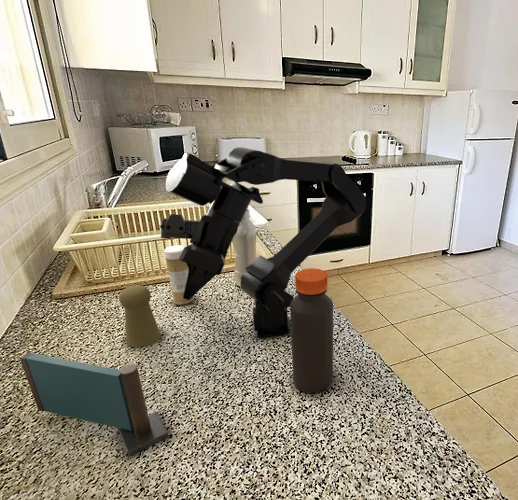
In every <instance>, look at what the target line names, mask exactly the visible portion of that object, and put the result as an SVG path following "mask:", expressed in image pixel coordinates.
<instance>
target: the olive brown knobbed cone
mask: <svg viewBox="0 0 518 500" xmlns="http://www.w3.org/2000/svg"><path fill="white" fill-rule="evenodd" d="M118 299H119V304H120V306H122V307H123V308H124V323H125V339H126V340H125V342H126V345H127V346H128V347H132V348H141V347H146V346H149V345H151V344H154V343H155V342H157V341H158V340H159V339H160V337H161V331H160V329H159V326H158V323H157V321H156V318H155V315H154V313H153V310H152V307H151V305H150V301H151V299H152V298H151V292H150V290H149V288H148V287H147V286H145V285H137V284H136V285H131V286H128V287H126V288H124V289H122V290H121V291H120V293H119V295H118Z"/></svg>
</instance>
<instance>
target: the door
mask: <svg viewBox="0 0 518 500" xmlns="http://www.w3.org/2000/svg"><path fill="white" fill-rule="evenodd" d="M19 360H20V364H21V366H22V369H23V372H24V374H25V378H26V380H27V382H28V383H27V384H28V385H29V388H30V390H31V393H32V397H33V400H34V402H35V404H36V407H37V410H38V411H39V412H44V413H45V412H47V413H50V414H55V415H60V416H64V417H67V418H73V419H76V420H80V421H81V420H82V421H86V422H89V423H93V424H94V423H95V424H98V425H103V426H108V427H112V428H117V429H125V430H129V431H132V430H133V429H134V428H133V424H132V420H131V416H130V412H129V408H128V404H127V400H126V395H125V391H124V387H123V383H122V379H121V375H120V369H118V368H113V367H107V366H102V365H96V364H92V363H85V362H82V361H76V360H70V359H65V358H60V357H54V356H49V355H44V354H39V353H35V352H31V351H28V352H26V353H25V354H23V355H22V356H20V357H19Z"/></svg>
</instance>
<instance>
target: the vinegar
mask: <svg viewBox="0 0 518 500" xmlns="http://www.w3.org/2000/svg"><path fill="white" fill-rule="evenodd" d="M294 283H295V293H296V294H297V295H296V296H294V299H293V300H292V302H291V304H290V307H289V314H290V315H289V316H290V337H291V338H290V340H291V363H292V382H293V385H294V386H295V387H296V389H298V390H299V391H301V392H303V393H306V394H317V393H320V392H323V391H326V390H327V389H328V388H329V387H331V385H332V383H333V380H334V379H333V378H334V301H333V299H332V298H331V297H330V296H329V295H328V294H327V291H328V273H327V272H326V271H324V270H323V269H321V268H313V267H312V268H304V269H300V270H298V271H296V272H295V274H294Z"/></svg>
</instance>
